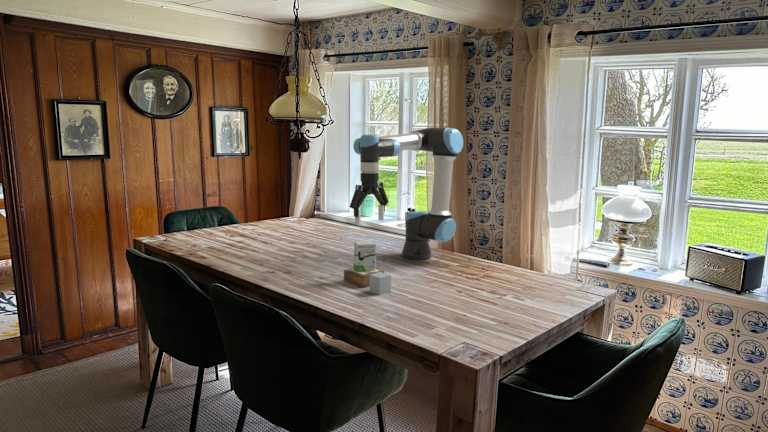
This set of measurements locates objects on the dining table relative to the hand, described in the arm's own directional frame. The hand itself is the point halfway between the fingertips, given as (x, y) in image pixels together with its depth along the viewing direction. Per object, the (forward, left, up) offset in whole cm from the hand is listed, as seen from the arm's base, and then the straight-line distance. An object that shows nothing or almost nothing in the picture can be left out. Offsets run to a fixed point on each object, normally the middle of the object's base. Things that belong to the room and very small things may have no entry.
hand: (369, 222), depth 226 cm
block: (+9, +16, -25) cm, 31 cm away
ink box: (+5, +2, -20) cm, 20 cm away
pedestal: (+5, +2, -25) cm, 25 cm away
